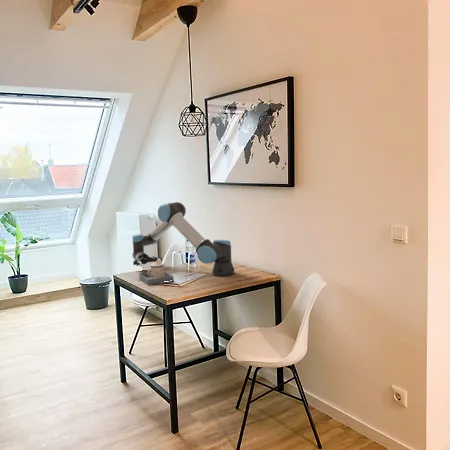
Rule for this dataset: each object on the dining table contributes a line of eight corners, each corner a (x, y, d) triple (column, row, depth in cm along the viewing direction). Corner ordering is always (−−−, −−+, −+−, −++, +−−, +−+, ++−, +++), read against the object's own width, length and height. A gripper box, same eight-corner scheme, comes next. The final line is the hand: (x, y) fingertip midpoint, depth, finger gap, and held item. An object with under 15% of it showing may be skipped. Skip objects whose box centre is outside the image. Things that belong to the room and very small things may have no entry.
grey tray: (163, 275, 324) (163, 270, 323) (173, 281, 306) (173, 276, 305) (139, 278, 317) (139, 273, 316) (147, 285, 299) (147, 279, 298)
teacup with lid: (160, 275, 318) (159, 258, 317) (167, 277, 311) (166, 260, 310) (144, 279, 311) (143, 261, 310) (151, 281, 304) (150, 263, 302)
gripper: (159, 261, 343) (169, 266, 324) (125, 265, 332) (133, 271, 313) (159, 250, 342) (168, 255, 323) (124, 255, 331) (132, 260, 312)
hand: (151, 263), depth 318 cm, fingers open, 13 cm apart
